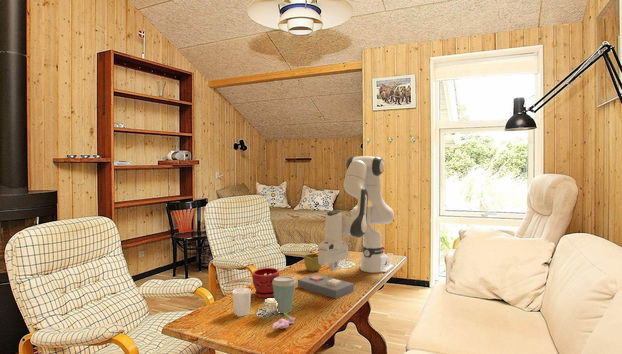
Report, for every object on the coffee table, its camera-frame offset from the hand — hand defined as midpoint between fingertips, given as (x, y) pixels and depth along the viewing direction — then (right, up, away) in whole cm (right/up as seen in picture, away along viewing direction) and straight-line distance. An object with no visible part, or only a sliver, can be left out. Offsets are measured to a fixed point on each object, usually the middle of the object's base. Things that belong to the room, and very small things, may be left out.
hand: (334, 270), depth 189 cm
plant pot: (-34, -12, -3) cm, 36 cm away
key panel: (-4, -11, +5) cm, 12 cm away
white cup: (-42, -12, -26) cm, 51 cm away
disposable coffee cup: (-23, -12, -24) cm, 36 cm away
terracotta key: (-9, -9, +9) cm, 15 cm away
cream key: (0, -8, 0) cm, 8 cm away
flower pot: (-10, -10, +39) cm, 42 cm away
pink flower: (-22, -13, -41) cm, 48 cm away
